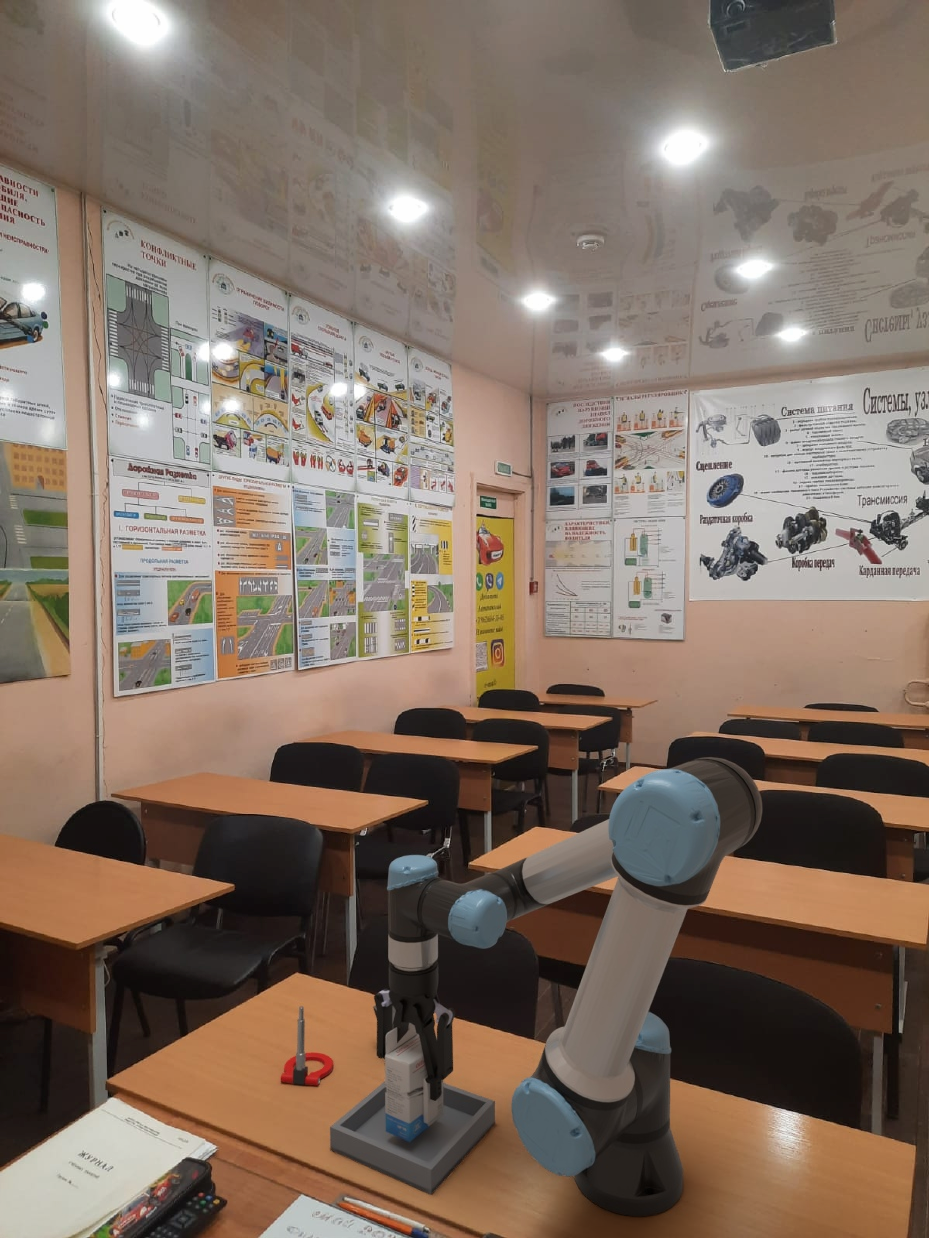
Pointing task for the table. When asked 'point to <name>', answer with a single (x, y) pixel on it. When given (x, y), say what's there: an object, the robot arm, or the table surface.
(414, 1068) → the ink box
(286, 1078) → the tow hook
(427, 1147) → the tray
